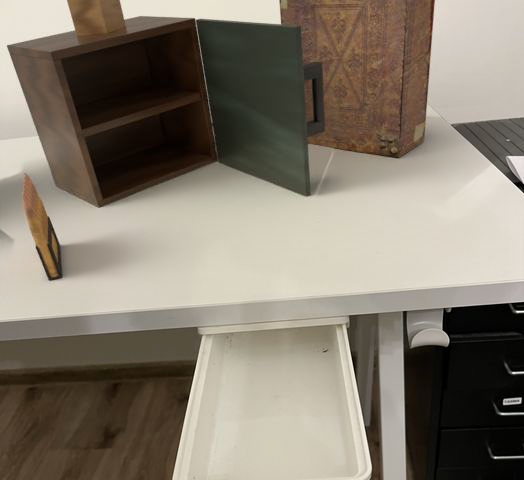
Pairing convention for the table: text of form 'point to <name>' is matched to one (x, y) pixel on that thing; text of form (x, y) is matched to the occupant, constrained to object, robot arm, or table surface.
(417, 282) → the table surface
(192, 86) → the cupboard
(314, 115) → the door
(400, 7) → the book
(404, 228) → the table surface
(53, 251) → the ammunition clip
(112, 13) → the oak block
